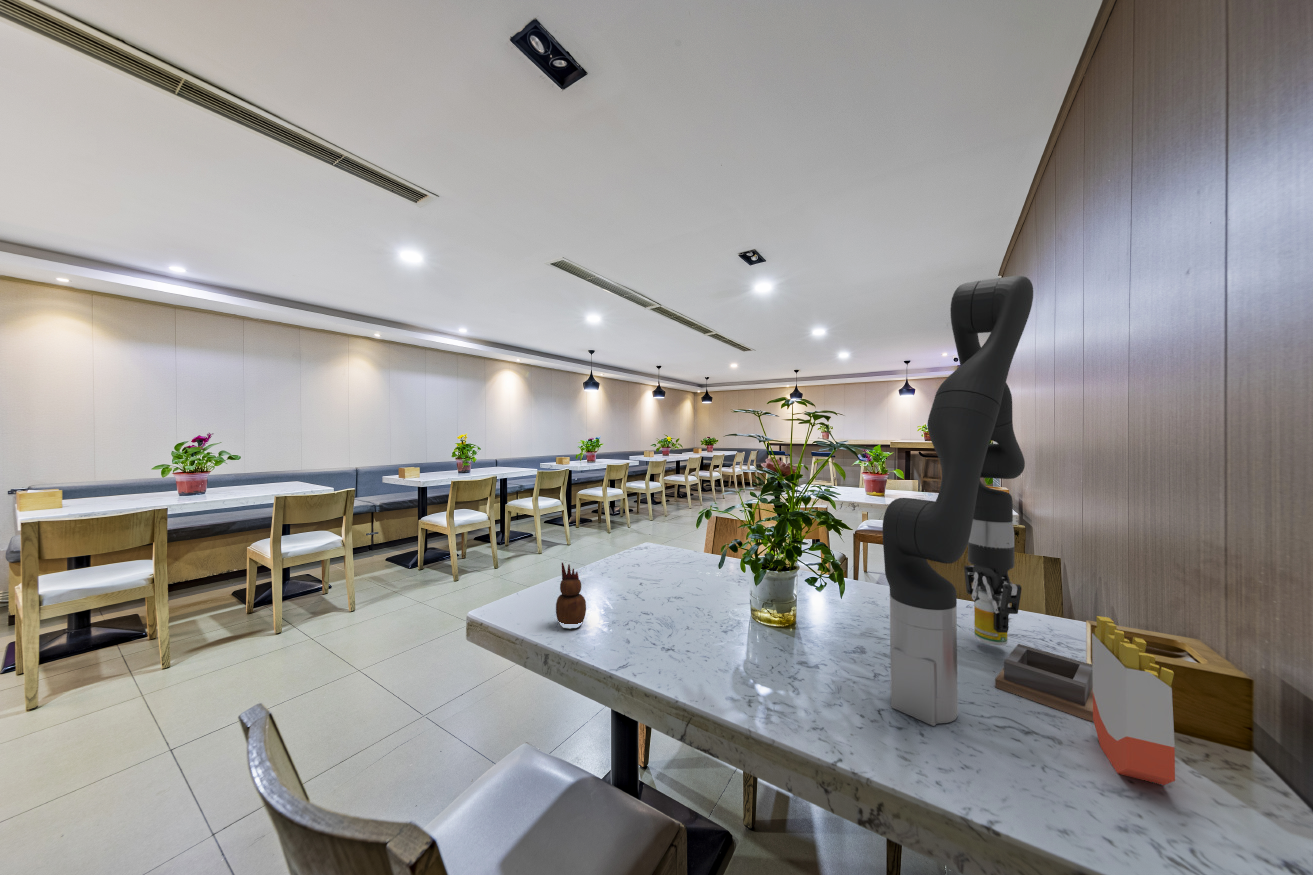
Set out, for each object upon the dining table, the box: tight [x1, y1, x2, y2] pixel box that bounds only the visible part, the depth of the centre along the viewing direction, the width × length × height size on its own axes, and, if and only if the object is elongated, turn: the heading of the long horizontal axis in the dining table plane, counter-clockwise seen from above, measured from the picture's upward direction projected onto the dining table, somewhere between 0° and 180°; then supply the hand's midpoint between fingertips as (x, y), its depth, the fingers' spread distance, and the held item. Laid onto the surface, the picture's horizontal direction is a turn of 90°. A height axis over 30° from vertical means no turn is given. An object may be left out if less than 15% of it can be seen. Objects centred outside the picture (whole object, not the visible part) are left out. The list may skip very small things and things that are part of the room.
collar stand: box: [994, 643, 1094, 723], centre depth 75 cm, size 12×12×4 cm
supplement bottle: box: [973, 590, 1009, 646], centre depth 89 cm, size 5×5×10 cm
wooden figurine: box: [555, 562, 587, 624], centre depth 102 cm, size 7×6×15 cm
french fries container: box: [1091, 615, 1176, 786], centre depth 58 cm, size 5×11×18 cm, turn 151°
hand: (990, 624), depth 89 cm, fingers closed on supplement bottle, 5 cm apart
